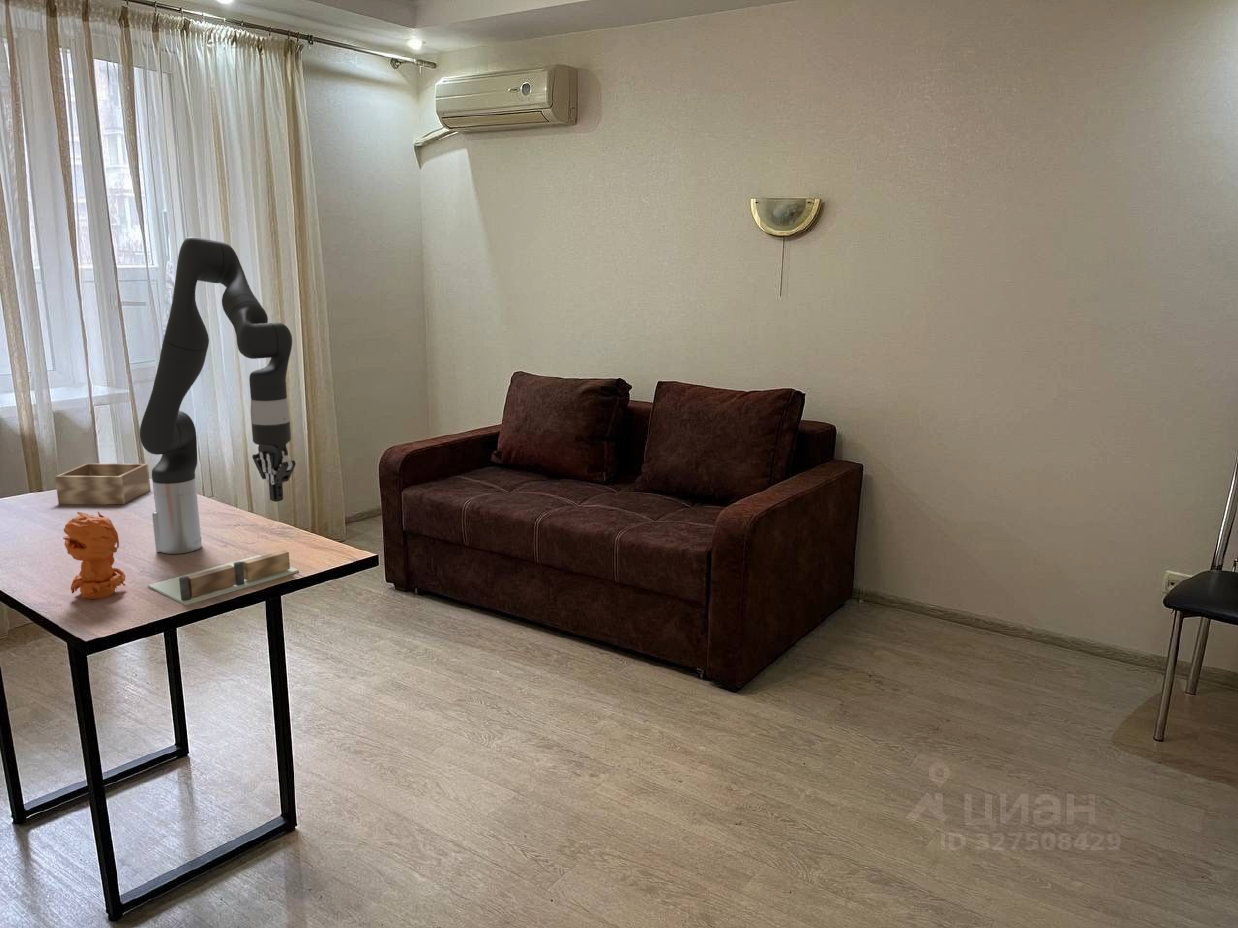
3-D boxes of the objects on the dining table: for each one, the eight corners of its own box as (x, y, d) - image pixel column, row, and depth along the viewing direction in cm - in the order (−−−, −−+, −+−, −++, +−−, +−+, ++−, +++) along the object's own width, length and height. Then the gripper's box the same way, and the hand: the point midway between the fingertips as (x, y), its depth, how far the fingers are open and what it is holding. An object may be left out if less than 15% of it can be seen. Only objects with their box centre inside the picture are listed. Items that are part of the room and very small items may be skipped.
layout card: (185, 605, 188) (185, 602, 188) (148, 587, 198) (147, 584, 198) (298, 571, 208) (298, 569, 208) (259, 556, 218) (259, 554, 218)
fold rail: (248, 580, 200) (247, 563, 199) (243, 578, 201) (242, 561, 200) (290, 568, 208) (288, 551, 207) (284, 566, 209) (283, 550, 208)
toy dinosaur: (83, 584, 199) (73, 504, 195) (136, 583, 200) (126, 503, 196) (57, 604, 188) (45, 519, 184) (113, 603, 189) (102, 518, 185)
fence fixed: (184, 603, 189) (182, 579, 188) (179, 601, 190) (177, 577, 189) (246, 585, 200) (244, 562, 198) (241, 583, 201) (239, 560, 200)
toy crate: (58, 504, 259) (54, 476, 258) (89, 489, 275) (86, 463, 273) (123, 504, 260) (120, 477, 258) (150, 490, 275) (147, 463, 273)
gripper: (305, 421, 191) (310, 502, 195) (269, 414, 199) (275, 491, 203) (272, 426, 185) (278, 509, 189) (236, 418, 193) (243, 498, 197)
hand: (276, 500), depth 196 cm, fingers closed
